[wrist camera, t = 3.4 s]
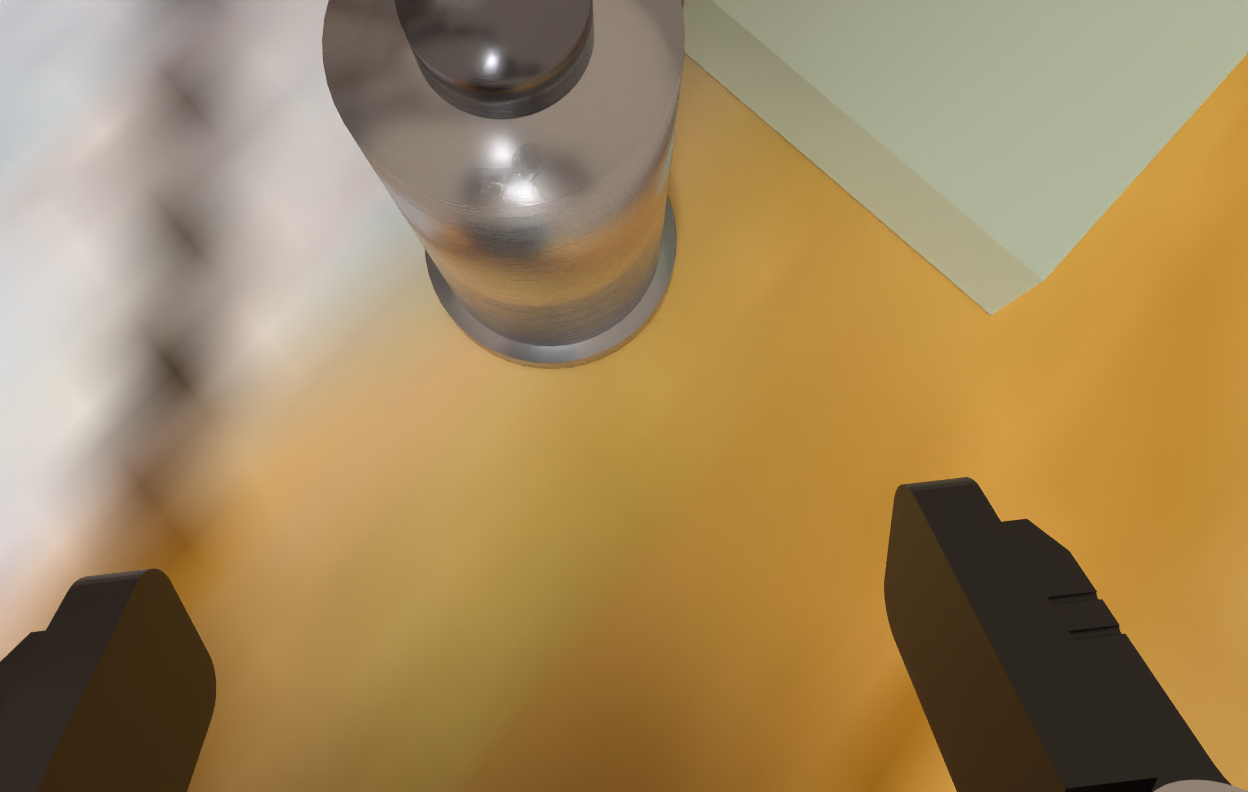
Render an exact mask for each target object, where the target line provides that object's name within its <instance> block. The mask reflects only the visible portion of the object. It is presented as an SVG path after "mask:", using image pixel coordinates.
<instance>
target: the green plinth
mask: <svg viewBox="0 0 1248 792" xmlns="http://www.w3.org/2000/svg"><path fill="white" fill-rule="evenodd" d="M683 18H684V27H685V45H684V52H685V53H686V54H687V55H688V56H689V57H691V58H692V59H693V60H694V61H695V62H696V63H698V64H699V65H700V66H701V67H702V68H703V69H704V70H706V71H707V72H708V73H709V74H710V75H711V76H713V77H714V78H715V79H716V80H717V81H718V82H720V83H721V84H722V85H723V86H724V87H725V88H727V89H728V90H729V91H730V92H731V93H732V94H734V95H735V96H736V97H737V98H738V99H739V100H741V101H742V102H743V103H744V104H745V105H746V106H748V107H749V108H750V109H751V110H752V111H753V112H755V113H756V114H757V115H758V116H759V117H760V118H762V119H763V120H764V121H765V122H766V123H767V124H769V125H770V126H771V127H772V128H773V129H774V130H776V131H777V132H778V133H779V134H780V135H781V136H783V137H784V138H785V139H786V140H787V141H788V142H790V143H791V144H792V145H793V146H794V147H795V148H797V149H798V150H799V151H800V152H801V153H802V154H804V155H805V156H806V157H807V158H808V159H809V160H811V161H812V162H813V163H814V164H815V165H816V166H818V167H819V168H820V169H821V170H822V171H823V172H825V173H826V174H827V175H828V176H829V177H830V178H832V179H833V180H834V181H835V182H836V183H837V184H839V185H840V186H841V187H842V188H843V189H844V190H846V191H847V192H848V193H849V194H850V195H851V196H853V197H854V198H855V199H856V200H857V201H858V202H859V203H861V204H862V205H863V206H864V207H865V208H866V209H868V210H869V211H870V212H871V213H872V214H873V215H875V216H876V217H877V218H878V219H879V220H880V221H882V222H883V223H884V224H885V225H886V226H887V227H889V228H890V229H891V230H892V231H893V232H894V233H896V234H897V235H898V236H899V237H900V238H901V239H903V240H904V241H905V242H906V243H907V244H908V245H910V246H911V247H912V248H913V249H914V250H915V251H917V252H918V253H919V254H920V255H921V256H922V257H924V258H925V259H926V260H927V261H928V262H929V263H931V264H932V265H933V266H934V267H935V268H936V269H938V270H939V271H940V272H941V273H942V274H943V275H945V276H946V277H947V278H948V279H949V280H950V281H952V282H953V283H954V284H955V285H956V286H957V287H959V288H960V289H961V290H962V291H963V292H964V293H966V294H967V295H968V296H969V297H970V298H971V299H973V300H974V301H975V302H976V303H977V304H978V305H980V306H981V307H982V308H983V309H984V310H985V311H987V312H988V313H989V314H990V315H992V314H994V313H995V312H997V311H998V310H1000V309H1001V308H1003V307H1004V306H1006V305H1007V304H1009V303H1010V302H1012V301H1013V300H1015V299H1017V298H1018V297H1020V296H1021V295H1023V294H1024V293H1026V292H1027V291H1029V290H1030V289H1032V288H1033V287H1035V286H1036V285H1038V284H1040V283H1041V282H1043V281H1044V280H1045V279H1046V278H1047V276H1048V275H1049V274H1050V273H1051V272H1052V271H1053V270H1054V269H1055V268H1056V266H1057V265H1058V264H1059V263H1060V262H1061V261H1062V260H1063V259H1064V257H1065V256H1066V255H1067V254H1068V253H1069V252H1070V251H1071V250H1072V249H1073V247H1074V246H1075V245H1076V244H1077V243H1078V242H1079V241H1080V240H1081V239H1082V237H1083V236H1084V235H1085V234H1086V233H1087V232H1088V231H1089V230H1090V228H1091V227H1092V226H1093V225H1094V224H1095V223H1096V222H1097V221H1098V220H1099V218H1100V217H1101V216H1102V215H1103V214H1104V213H1105V212H1106V211H1107V209H1108V208H1109V207H1110V206H1111V205H1112V204H1113V203H1114V202H1115V201H1116V199H1117V198H1118V197H1119V196H1120V195H1121V194H1122V193H1123V192H1124V191H1125V189H1126V188H1127V187H1128V186H1129V185H1130V184H1131V183H1132V182H1133V180H1134V179H1135V178H1136V177H1137V176H1138V175H1139V174H1140V173H1141V172H1142V170H1143V169H1144V168H1145V167H1146V166H1147V165H1148V164H1149V163H1150V161H1151V160H1152V159H1153V158H1154V157H1155V156H1156V155H1157V154H1158V153H1159V151H1160V150H1161V149H1162V148H1163V147H1164V146H1165V145H1166V144H1167V143H1168V141H1169V140H1170V139H1171V138H1172V137H1173V136H1174V135H1175V134H1176V132H1177V131H1178V130H1179V129H1180V128H1181V127H1182V126H1183V125H1184V124H1185V122H1186V121H1187V120H1188V119H1189V118H1190V117H1191V116H1192V115H1193V113H1194V112H1195V111H1196V110H1197V109H1198V108H1199V107H1200V106H1201V105H1202V103H1203V102H1204V101H1205V100H1206V99H1207V98H1208V97H1209V96H1210V95H1211V93H1212V92H1213V91H1214V90H1215V89H1216V88H1217V87H1218V86H1219V84H1220V83H1221V82H1222V81H1223V80H1224V79H1225V78H1226V77H1227V76H1228V74H1229V73H1230V72H1231V71H1232V70H1233V69H1234V68H1235V67H1236V65H1237V64H1238V63H1239V62H1240V61H1241V60H1242V59H1243V58H1244V57H1245V55H1246V54H1247V53H1248V0H684V7H683Z"/></svg>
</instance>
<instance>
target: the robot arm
mask: <svg viewBox="0 0 1248 792" xmlns="http://www.w3.org/2000/svg"><path fill="white" fill-rule="evenodd" d="M1096 592H1097V591H1096V590H1095V588H1094V587H1093V585H1092V584H1091V582H1090V581H1089V579H1088V578H1087V576H1086V575H1085V573H1084V572H1083V571H1082V569H1081V568H1080V566H1079V565H1078V563H1077V562H1076V560H1075V559H1074V557H1073V556H1072V554H1071V553H1070V551H1069V550H1067V549H1066V548H1065V547H1063V546H1062V545H1061V544H1059V543H1058V542H1057V541H1055V540H1054V539H1053V538H1051V537H1050V536H1049V535H1047V534H1046V533H1045V532H1043V531H1042V530H1041V529H1040V528H1038V527H1037V526H1036V525H1034V524H1033V523H1032V522H1030V521H1029V520H1028V519H1021V520H1013V521H1004V522H1001V521H1000V519H999V518H998V516H997V514H996V513H995V511H994V509H993V508H992V506H991V505H990V503H989V501H988V500H987V498H986V496H985V495H984V493H983V492H982V490H981V488H980V487H979V486H978V484H977V483H976V482H975V481H974V480H973V479H971V478H968V477H964V478H955V479H946V480H938V481H929V482H921V483H912V484H903V485H900V486H899V487H898V488H897V490H896V493H895V497H894V504H893V513H892V521H891V529H890V537H889V546H888V554H887V562H886V570H885V579H884V595H885V604H886V611H887V616H888V620H889V624H890V628H891V631H892V634H893V637H894V640H895V642H896V644H897V647H898V649H899V652H900V654H901V657H902V659H903V661H904V664H905V666H906V669H907V671H908V674H909V676H910V679H911V681H912V683H913V686H914V688H915V691H916V693H917V696H918V698H919V700H920V703H921V705H922V708H923V710H924V713H925V715H926V717H927V720H928V722H929V725H930V727H931V730H932V732H933V734H934V737H935V739H936V742H937V744H938V747H939V749H940V752H941V754H942V756H943V759H944V761H945V764H946V766H947V769H948V771H949V773H950V776H951V778H952V781H953V783H954V786H955V788H956V790H957V792H1248V791H1246V790H1243V789H1240V788H1237V787H1234V786H1232V785H1231V784H1230V783H1229V782H1228V781H1227V780H1226V779H1225V778H1224V776H1223V775H1222V774H1221V773H1220V771H1219V770H1218V769H1217V767H1216V766H1215V765H1214V763H1213V762H1212V761H1211V759H1210V758H1209V756H1208V755H1207V753H1206V752H1205V750H1204V749H1203V747H1202V746H1201V744H1200V743H1199V741H1198V740H1197V738H1196V737H1195V736H1194V734H1193V733H1192V731H1191V730H1190V728H1189V727H1188V725H1187V724H1186V722H1185V721H1184V719H1183V718H1182V716H1181V715H1180V713H1179V712H1178V710H1177V709H1176V708H1175V706H1174V705H1173V703H1172V702H1171V700H1170V699H1169V697H1168V696H1167V694H1166V693H1165V691H1164V690H1163V688H1162V687H1161V685H1160V684H1159V682H1158V681H1157V680H1156V678H1155V677H1154V675H1153V674H1152V672H1151V671H1150V669H1149V668H1148V666H1147V665H1146V663H1145V662H1144V660H1143V659H1142V657H1141V656H1140V655H1139V653H1138V652H1137V650H1136V649H1135V647H1134V646H1133V644H1132V643H1131V641H1130V640H1129V638H1128V637H1127V635H1126V634H1121V632H1120V629H1119V624H1118V622H1117V621H1116V619H1115V618H1114V616H1113V615H1112V613H1111V612H1110V610H1109V609H1108V607H1107V606H1106V604H1105V603H1104V601H1103V600H1102V599H1101V600H1099V599H1098V598H1097V595H1096ZM215 699H216V678H215V671H214V666H213V663H212V660H211V658H210V655H209V653H208V651H207V649H206V648H205V646H204V644H203V642H202V640H201V638H200V636H199V634H198V632H197V631H196V629H195V627H194V625H193V623H192V621H191V619H190V617H189V615H188V613H187V612H186V610H185V608H184V606H183V604H182V602H181V600H180V598H179V596H178V594H177V593H176V591H175V589H174V587H173V585H172V583H171V581H170V580H169V578H168V577H167V576H166V574H165V573H164V572H162V571H161V570H158V569H147V570H138V571H129V572H121V573H112V574H103V575H95V576H86V577H83V578H80V579H79V580H77V581H76V582H75V583H74V584H73V585H72V586H71V588H70V589H69V591H68V592H67V594H66V596H65V597H64V599H63V601H62V603H61V605H60V606H59V608H58V610H57V612H56V613H55V615H54V617H53V619H52V621H51V622H50V624H49V626H48V628H47V629H46V631H39V632H31V633H30V634H29V635H28V636H27V637H26V638H25V639H23V640H22V641H21V642H20V643H19V644H18V645H17V646H16V647H15V648H14V649H13V650H12V651H11V652H10V653H9V654H8V655H7V656H6V657H5V658H4V659H3V660H2V661H1V662H0V792H187V790H188V787H189V784H190V781H191V778H192V775H193V772H194V769H195V766H196V763H197V760H198V757H199V754H200V751H201V748H202V745H203V742H204V739H205V736H206V733H207V730H208V727H209V724H210V721H211V718H212V715H213V711H214V706H215Z"/></svg>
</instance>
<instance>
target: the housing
mask: <svg viewBox="0 0 1248 792" xmlns="http://www.w3.org/2000/svg"><path fill="white" fill-rule="evenodd" d="M322 45H323V63H324V69H325V74H326V79H327V84H328V87H329V90H330V93H331V96H332V99H333V102H334V104H335V106H336V108H337V110H338V112H339V114H340V116H341V118H342V120H343V122H344V124H345V125H346V127H347V128H348V130H349V132H350V133H351V135H352V136H353V138H354V139H355V141H356V142H357V144H358V145H359V147H360V149H361V150H362V152H363V153H364V155H365V156H366V158H367V159H368V161H369V163H370V164H371V166H372V167H373V169H374V170H375V172H376V173H377V175H378V176H379V178H380V180H381V181H382V183H383V184H384V186H385V187H386V189H387V190H388V192H389V193H390V195H391V197H392V198H393V200H394V201H395V203H396V204H397V206H398V207H399V209H400V210H401V212H402V214H403V215H404V217H405V218H406V220H407V221H408V223H409V224H410V226H411V227H412V229H413V231H414V232H415V234H416V235H417V237H418V238H419V240H420V241H421V243H422V245H423V246H424V248H425V255H426V262H427V267H428V272H429V276H430V279H431V282H432V285H433V287H434V290H435V292H436V294H437V296H438V298H439V300H440V302H441V303H442V305H443V306H444V308H445V309H446V311H447V312H448V313H449V315H450V316H451V318H452V319H453V320H454V322H455V323H456V324H457V326H458V327H459V328H460V329H461V330H462V331H463V332H464V333H465V334H466V335H467V336H468V337H469V338H470V339H471V340H473V341H474V342H475V343H476V344H478V345H479V346H480V347H482V348H483V349H485V350H487V351H488V352H490V353H491V354H493V355H495V356H498V357H500V358H502V359H504V360H506V361H509V362H513V363H516V364H519V365H523V366H528V367H534V368H546V369H559V368H569V367H575V366H579V365H584V364H588V363H591V362H593V361H596V360H599V359H602V358H604V357H606V356H608V355H610V354H612V353H614V352H615V351H617V350H619V349H620V348H622V347H623V346H625V345H626V344H627V343H629V342H630V341H631V340H632V339H634V338H635V337H636V336H637V335H638V334H639V333H640V332H641V331H642V330H643V329H644V328H645V327H646V326H647V324H648V323H649V322H650V321H651V320H652V318H653V317H654V315H655V314H656V312H657V311H658V309H659V307H660V306H661V304H662V302H663V300H664V297H665V295H666V293H667V291H668V288H669V284H670V281H671V278H672V273H673V267H674V261H675V255H676V238H677V235H676V226H675V219H674V215H673V211H672V207H671V204H670V201H669V199H668V196H667V191H668V183H669V175H670V166H671V158H672V150H673V142H674V133H675V125H676V117H677V108H678V100H679V92H680V84H681V75H682V67H683V59H684V45H685V27H684V18H683V10H682V5H681V1H680V0H329V2H328V6H327V10H326V14H325V18H324V28H323V38H322Z"/></svg>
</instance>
